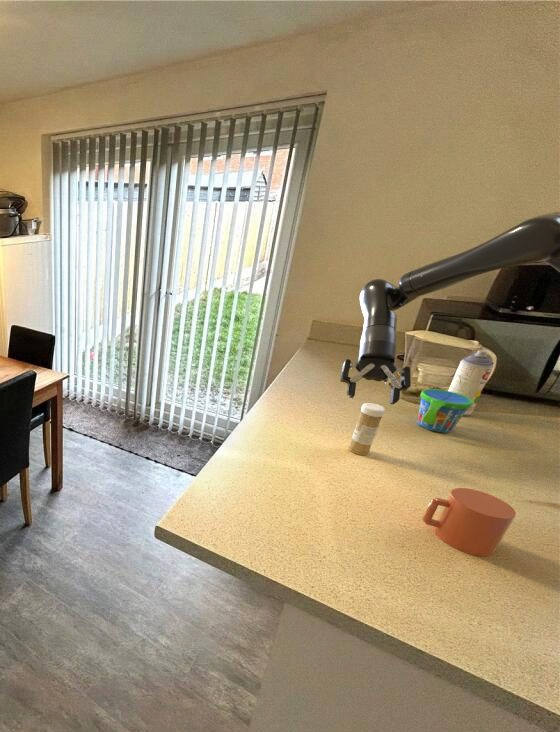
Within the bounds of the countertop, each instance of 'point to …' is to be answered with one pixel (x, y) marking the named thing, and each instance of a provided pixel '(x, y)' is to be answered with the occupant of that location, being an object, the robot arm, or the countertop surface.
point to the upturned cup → (471, 520)
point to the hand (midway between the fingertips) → (372, 400)
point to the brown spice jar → (366, 428)
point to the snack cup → (441, 409)
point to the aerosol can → (472, 377)
